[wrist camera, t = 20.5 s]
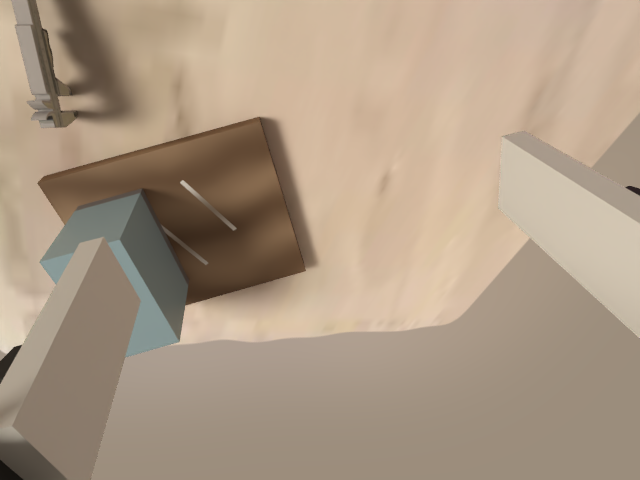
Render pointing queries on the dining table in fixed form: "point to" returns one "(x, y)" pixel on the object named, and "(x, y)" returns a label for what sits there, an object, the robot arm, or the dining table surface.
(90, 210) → the block
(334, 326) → the dining table surface
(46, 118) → the caliper
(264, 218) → the board
